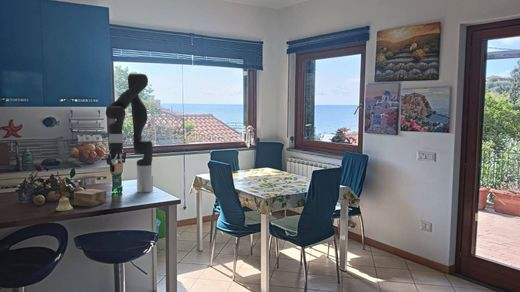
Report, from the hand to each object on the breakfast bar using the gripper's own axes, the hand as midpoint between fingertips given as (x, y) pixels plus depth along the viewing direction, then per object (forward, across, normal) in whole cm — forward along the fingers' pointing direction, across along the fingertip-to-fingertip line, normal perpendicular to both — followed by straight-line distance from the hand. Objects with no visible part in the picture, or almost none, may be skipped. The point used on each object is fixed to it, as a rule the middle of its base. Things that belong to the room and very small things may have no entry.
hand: (116, 171), depth 237 cm
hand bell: (+18, +26, -12) cm, 33 cm away
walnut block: (+18, +10, -10) cm, 23 cm away
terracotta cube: (+1, 0, 0) cm, 1 cm away
